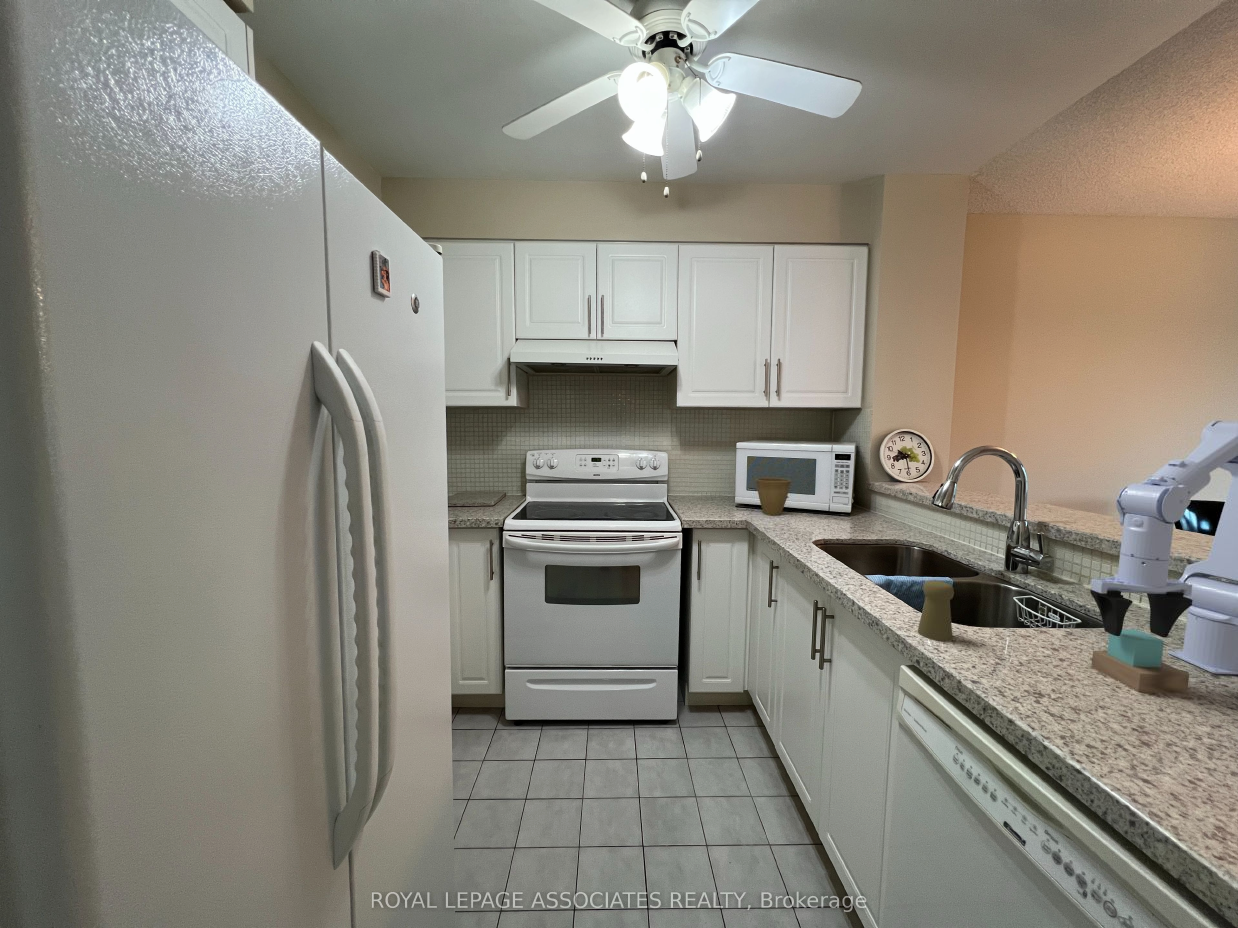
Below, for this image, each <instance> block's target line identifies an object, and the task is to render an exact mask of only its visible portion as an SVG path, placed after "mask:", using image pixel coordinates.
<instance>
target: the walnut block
mask: <svg viewBox="0 0 1238 928" xmlns="http://www.w3.org/2000/svg"><path fill="white" fill-rule="evenodd" d="M1107 651H1108V650H1092V656H1091V657H1092V658H1091V669H1093V670H1095V671H1098V672H1099V673H1101V674H1103V675H1104V676H1107V677H1108V678H1110V679H1113V680H1114V679H1115V680H1114V681H1116V682H1118V681H1119V682H1118V683H1120V684H1122V685H1124V686H1126V687H1127V686H1128V688H1130V689H1132V690H1133V689H1134V690H1133V691H1136V692H1138V693H1168V694H1169V693H1172V694H1173V693H1174V694H1175V693H1176V694H1177V693H1178V694H1179V693H1181V694H1182V693H1183V694H1184V693H1185V694H1188V687H1189V682H1190V673H1187V672H1185V671H1184V670H1181V669H1179V668H1177V667H1174V666H1172V665H1169V664H1168V663H1165V662H1163V661H1161V667H1135V666H1131V665H1129V664H1127V663H1125V662H1123V661H1121V660H1119V659H1117V658H1115V657H1113V656H1111V655H1109V654H1107Z"/></svg>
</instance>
